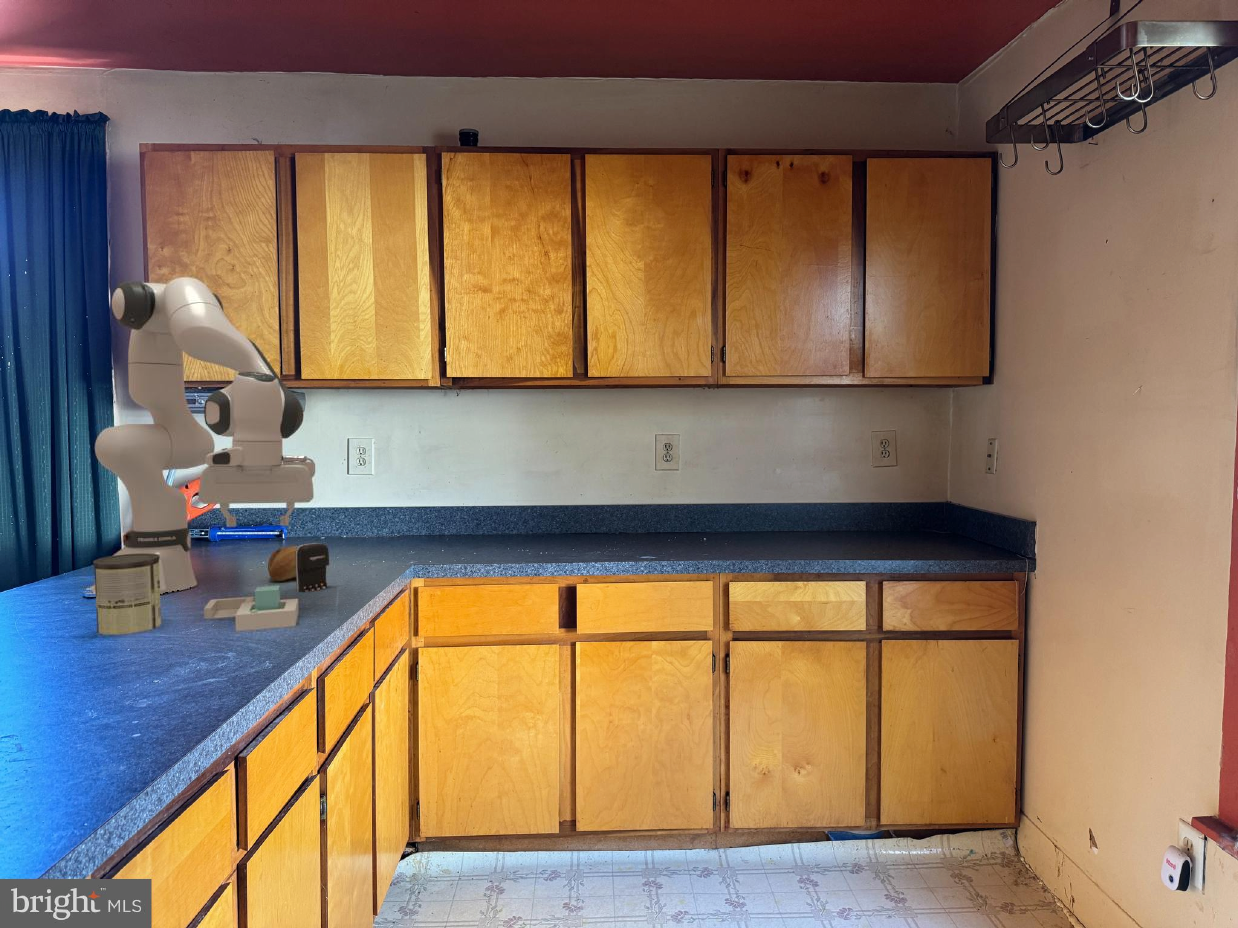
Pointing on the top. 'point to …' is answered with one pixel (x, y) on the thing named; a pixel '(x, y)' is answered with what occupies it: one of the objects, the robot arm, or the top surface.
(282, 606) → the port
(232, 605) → the holster
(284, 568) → the bread roll
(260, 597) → the plug
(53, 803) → the top surface
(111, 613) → the coffee can
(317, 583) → the battery
